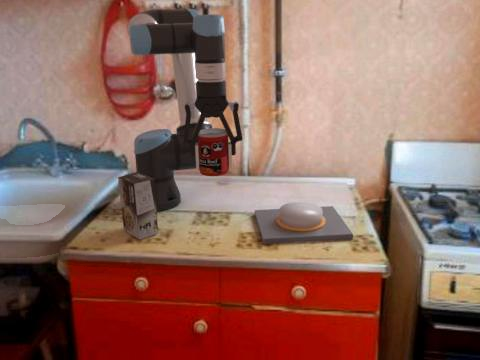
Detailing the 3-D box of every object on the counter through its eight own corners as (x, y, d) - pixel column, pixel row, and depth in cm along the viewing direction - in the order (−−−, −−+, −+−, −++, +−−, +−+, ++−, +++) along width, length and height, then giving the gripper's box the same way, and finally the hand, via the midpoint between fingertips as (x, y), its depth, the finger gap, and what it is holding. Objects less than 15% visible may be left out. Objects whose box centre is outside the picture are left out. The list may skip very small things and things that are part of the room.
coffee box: (159, 233, 134) (155, 178, 129) (139, 240, 130) (133, 183, 125) (142, 223, 141) (137, 171, 135) (122, 230, 137) (117, 176, 131)
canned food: (193, 174, 126) (191, 133, 122) (209, 166, 132) (208, 126, 129) (219, 178, 122) (217, 136, 119) (234, 169, 129) (233, 129, 126)
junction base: (254, 214, 145) (254, 199, 144) (332, 210, 147) (333, 195, 146) (263, 244, 126) (263, 226, 125) (352, 239, 128) (353, 221, 127)
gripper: (168, 83, 115) (173, 173, 123) (253, 80, 117) (254, 170, 124) (169, 79, 122) (175, 165, 130) (250, 77, 124) (251, 161, 131)
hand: (213, 167), depth 127 cm, fingers closed on canned food, 8 cm apart
